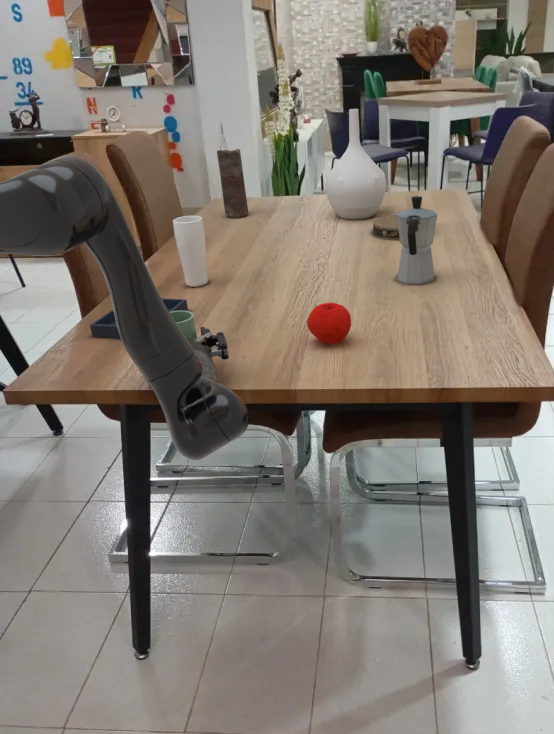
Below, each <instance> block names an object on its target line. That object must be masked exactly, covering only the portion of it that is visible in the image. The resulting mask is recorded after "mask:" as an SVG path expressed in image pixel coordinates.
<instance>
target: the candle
mask: <svg viewBox="0 0 554 734" xmlns="http://www.w3.org/2000/svg"><path fill="white" fill-rule="evenodd" d="M216 156H217V162H218V170H219V176H220V185H221V192H222V199H223V206H224V214H225V215H226V216H227V217H231V218H233V219H239V218H241V217H245V216H246V215H248V214H249V207H248V206H249V205H248V200H247V194H246V185H245V178H244V169H243V161H242V153H241V150H240V148H236V149H234V150H228V149H223V150H222V149H219V150H216Z"/></svg>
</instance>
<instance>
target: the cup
mask: <svg viewBox="0 0 554 734" xmlns="http://www.w3.org/2000/svg"><path fill="white" fill-rule="evenodd" d="M169 313H170V314H171V316H172V318H173V319H174V321H175V322H176V324H177V325H178V327H179V328H180V330H181V331H182V333H183V335H184V336H185V338H186V339H187V341H193V340H194V339H195V338H197V337H198V333H197V332H198V331H197V325H196V320H195V314H194V312H192V311H189V310H188V311H181V310H180V311H172V312H169Z"/></svg>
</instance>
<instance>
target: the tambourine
mask: <svg viewBox="0 0 554 734" xmlns="http://www.w3.org/2000/svg"><path fill="white" fill-rule="evenodd" d="M372 230H373V231H372V234H373V235H374V236H375V237H377V238H380V239H384V240H385V239H386V240H395V241H400V237H399V229H398V221H397V214H390V215H384V216H380V217H377V218H375V219H374V220H373V221H372Z"/></svg>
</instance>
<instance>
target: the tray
mask: <svg viewBox="0 0 554 734" xmlns="http://www.w3.org/2000/svg"><path fill="white" fill-rule="evenodd" d="M161 298H162V300H163V302H164V304H165V306H166V307H167V309H168V311H169V312H172V311H180V310H181V311H189V306H188V300H187V299H186V298H184V299H182V298H165V297H164V298H163V297H161ZM89 328H90V331H91V336H92V337H93V338H105V339H106V338H108V339H121V337H120V334H119V331H118V328H117V324H116V319H115V315H114V310H113V308H112V309H111V310H109V311H108V312H107V313H105V314H104V315H102V316H100V317H99V318H98V319H96V320H95V321H94V322H91V324H89Z"/></svg>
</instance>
